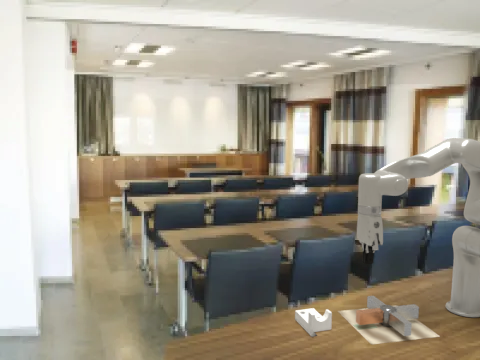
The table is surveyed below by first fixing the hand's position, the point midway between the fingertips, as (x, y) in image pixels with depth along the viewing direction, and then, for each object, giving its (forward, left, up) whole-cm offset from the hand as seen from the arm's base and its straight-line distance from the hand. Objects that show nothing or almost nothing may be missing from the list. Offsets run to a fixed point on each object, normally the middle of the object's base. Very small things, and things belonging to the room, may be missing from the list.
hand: (367, 263), depth 146 cm
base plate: (-5, +5, -21) cm, 22 cm away
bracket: (+19, -1, -22) cm, 29 cm away
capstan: (-5, +6, -20) cm, 21 cm away
